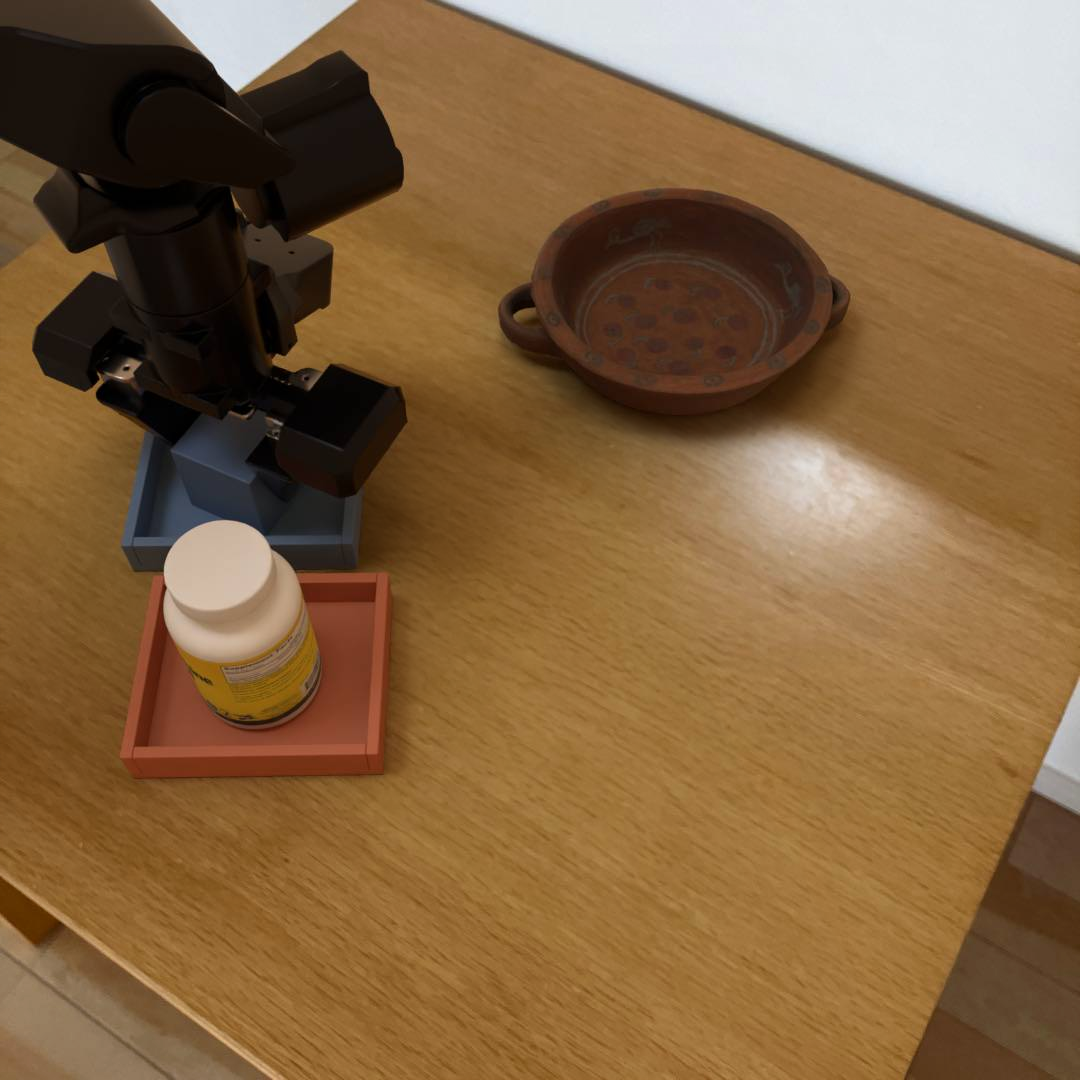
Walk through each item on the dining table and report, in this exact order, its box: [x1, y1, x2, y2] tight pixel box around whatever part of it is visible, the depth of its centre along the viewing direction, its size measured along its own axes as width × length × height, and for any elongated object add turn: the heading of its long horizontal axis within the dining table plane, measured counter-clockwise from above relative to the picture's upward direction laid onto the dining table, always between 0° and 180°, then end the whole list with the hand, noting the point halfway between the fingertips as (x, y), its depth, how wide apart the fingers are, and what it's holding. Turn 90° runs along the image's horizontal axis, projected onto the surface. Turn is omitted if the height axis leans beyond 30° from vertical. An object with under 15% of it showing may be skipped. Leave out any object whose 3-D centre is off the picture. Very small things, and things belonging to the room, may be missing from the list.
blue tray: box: [120, 430, 364, 572], centre depth 65 cm, size 12×10×2 cm
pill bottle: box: [163, 520, 322, 729], centre depth 55 cm, size 6×6×11 cm
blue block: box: [171, 410, 305, 536], centre depth 64 cm, size 5×5×5 cm
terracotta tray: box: [119, 572, 393, 779], centre depth 59 cm, size 12×10×2 cm
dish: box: [497, 187, 851, 416], centre depth 72 cm, size 18×22×5 cm
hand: (249, 478), depth 65 cm, fingers closed on blue block, 5 cm apart
